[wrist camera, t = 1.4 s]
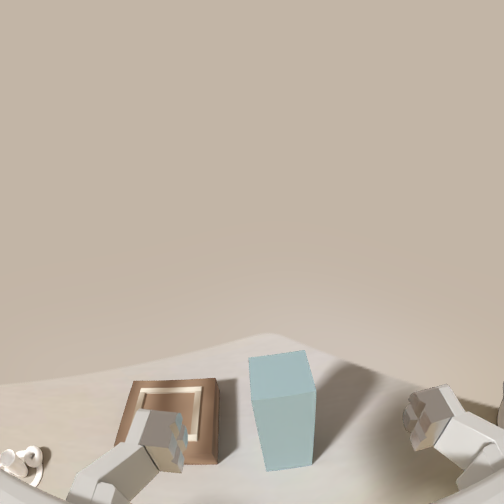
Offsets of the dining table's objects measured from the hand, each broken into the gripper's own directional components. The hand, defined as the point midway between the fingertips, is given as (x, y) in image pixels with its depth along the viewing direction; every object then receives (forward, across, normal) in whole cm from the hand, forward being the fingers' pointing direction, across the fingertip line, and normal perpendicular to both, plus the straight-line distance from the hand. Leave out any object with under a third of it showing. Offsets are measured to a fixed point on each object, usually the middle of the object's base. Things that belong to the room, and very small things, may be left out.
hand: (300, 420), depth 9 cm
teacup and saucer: (+4, +32, +26) cm, 41 cm away
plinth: (+17, +14, +24) cm, 32 cm away
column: (+12, -1, +23) cm, 26 cm away
